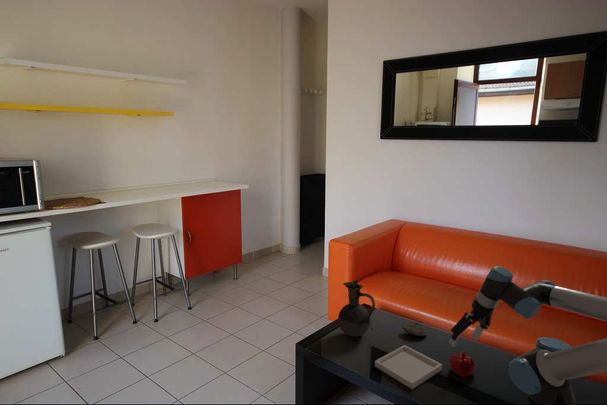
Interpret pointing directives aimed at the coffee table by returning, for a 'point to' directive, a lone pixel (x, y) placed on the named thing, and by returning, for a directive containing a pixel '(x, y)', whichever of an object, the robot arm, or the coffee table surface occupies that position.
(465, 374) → the pomegranate
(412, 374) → the tray
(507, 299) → the robot arm
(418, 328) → the fossilized seashell
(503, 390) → the coffee table surface
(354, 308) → the pitcher
